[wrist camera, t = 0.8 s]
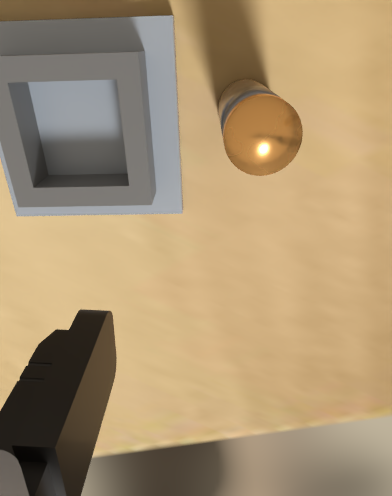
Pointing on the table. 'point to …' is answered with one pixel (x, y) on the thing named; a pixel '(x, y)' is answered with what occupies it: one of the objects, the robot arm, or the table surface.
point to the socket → (90, 116)
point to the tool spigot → (258, 128)
